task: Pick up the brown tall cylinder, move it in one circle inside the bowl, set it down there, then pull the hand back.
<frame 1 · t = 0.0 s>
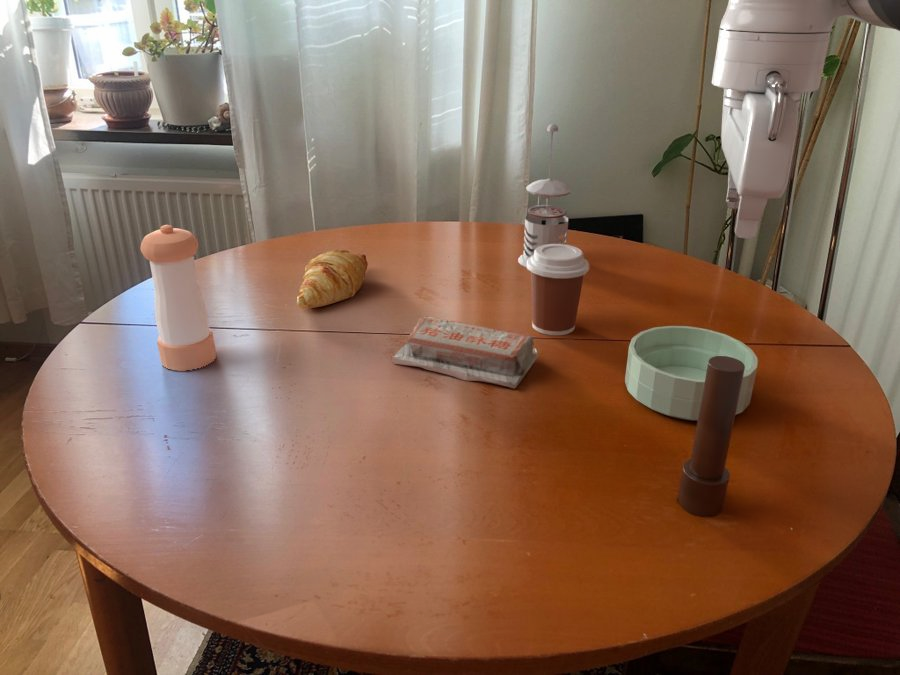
hand: (739, 220, 70), 27 cm above the table, tool pointing down, fingers open, 8 cm apart
packaged product: (465, 363, 102), on the table
bowl: (685, 393, 95), on the table
coffee cup: (553, 327, 113), on the table
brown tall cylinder: (700, 502, 75), on the table
french press: (543, 260, 139), on the table
croissant: (333, 291, 125), on the table
pepper shaker: (189, 360, 103), on the table
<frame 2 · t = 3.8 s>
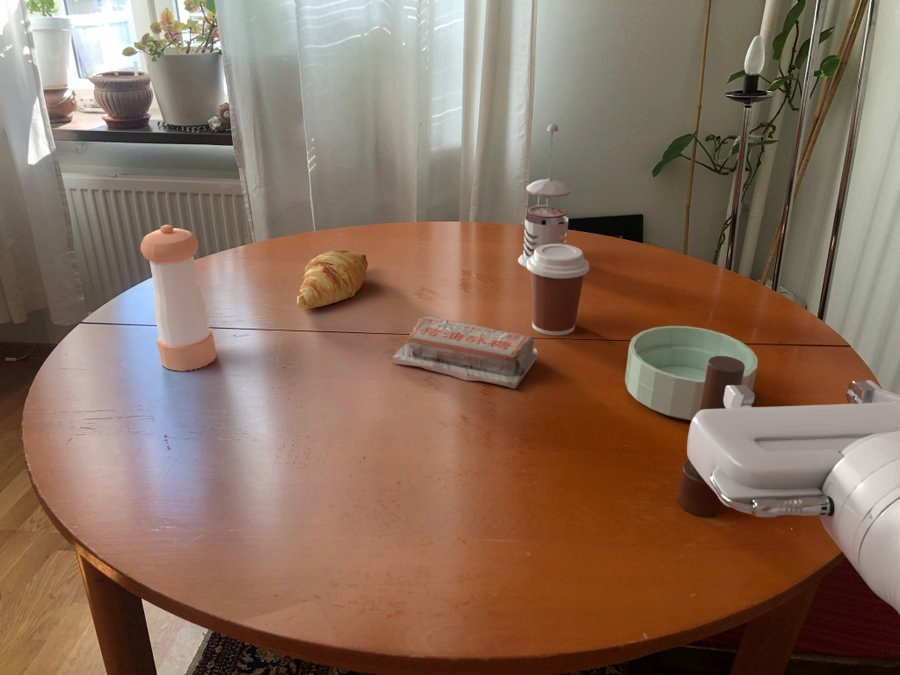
hand: (795, 390, 56), 20 cm above the table, tool horizontal, fingers open, 8 cm apart
nothing on the table moved.
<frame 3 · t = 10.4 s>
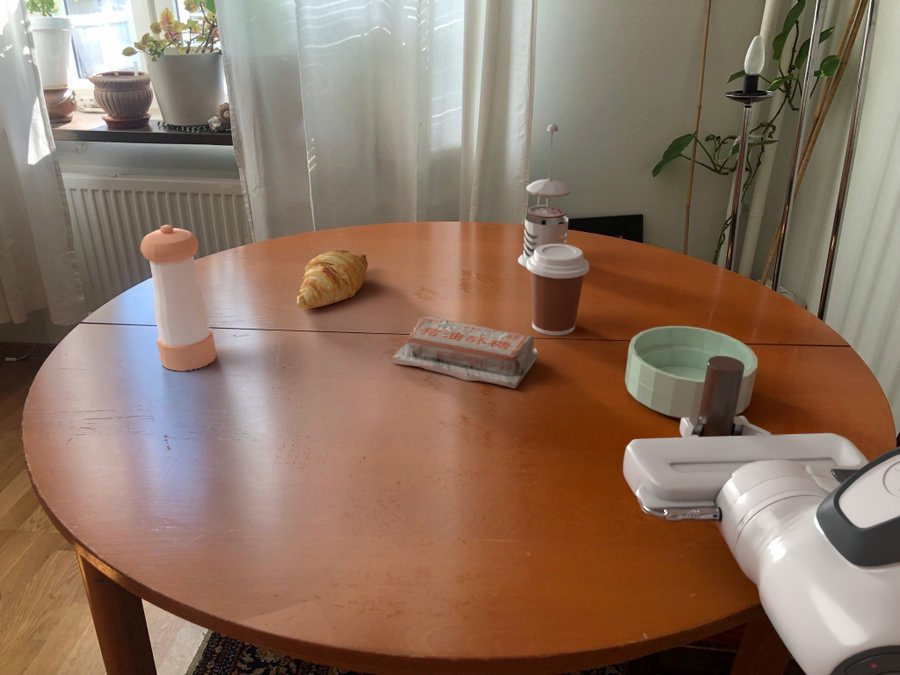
hand: (711, 422, 72), 9 cm above the table, tool horizontal, fingers closed on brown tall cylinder, 3 cm apart
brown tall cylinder: (700, 502, 75), on the table, touching gripper
everything else where it was.
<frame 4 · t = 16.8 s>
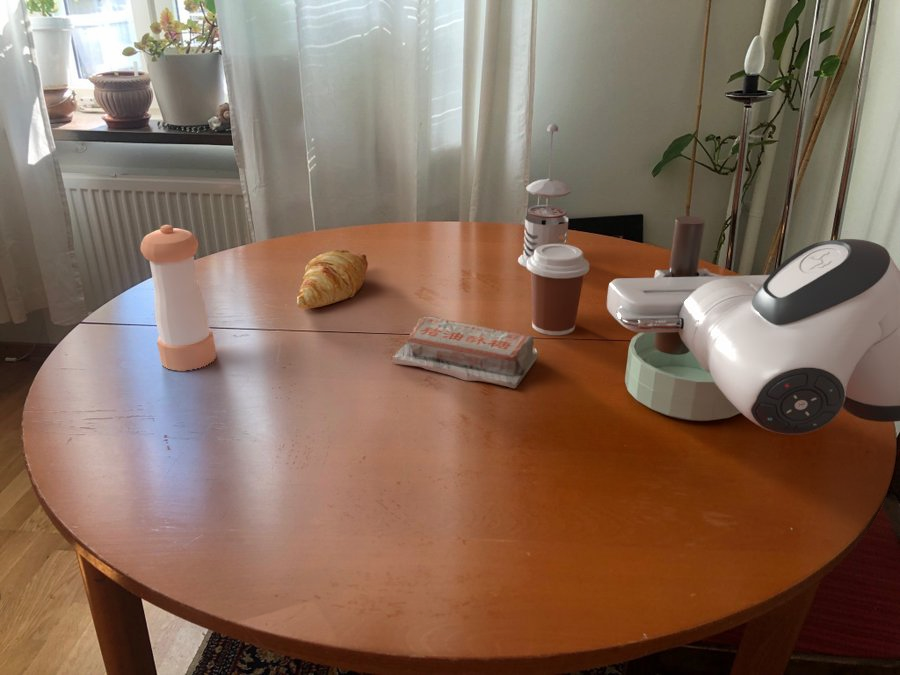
hand: (679, 275, 88), 16 cm above the table, tool horizontal, fingers closed on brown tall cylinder, 3 cm apart
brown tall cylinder: (672, 346, 91), point 7 cm above the table, touching gripper
everything else where it was.
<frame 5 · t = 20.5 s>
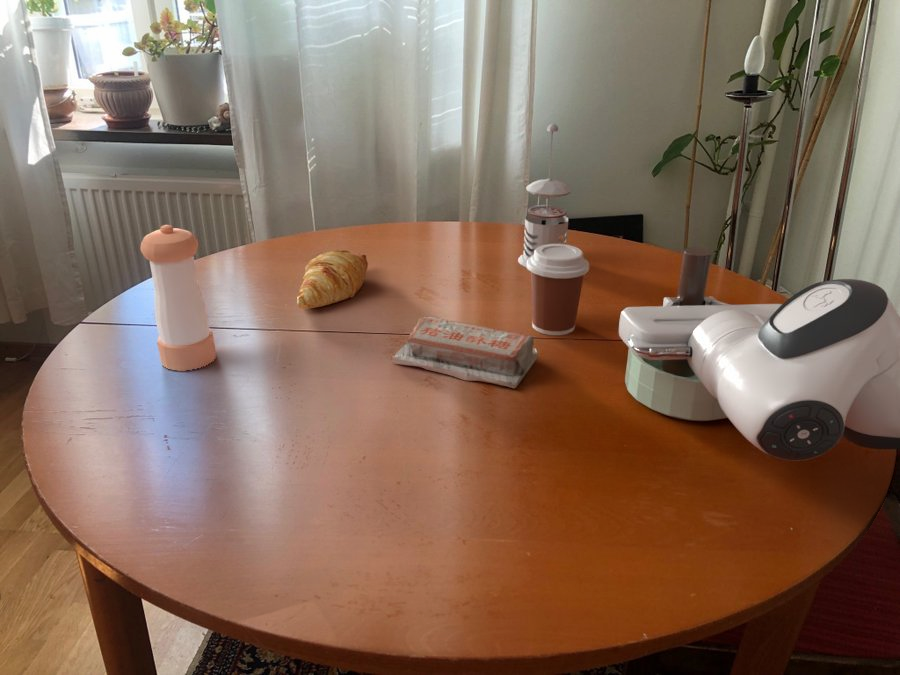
hand: (686, 302, 92), 11 cm above the table, tool horizontal, fingers closed on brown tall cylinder, 3 cm apart
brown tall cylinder: (679, 369, 95), point 2 cm above the table, touching gripper
everything else where it was.
when the fingers open (10 cm above the table, at t = 23.3 s): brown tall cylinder stays where it is, resting on bowl.
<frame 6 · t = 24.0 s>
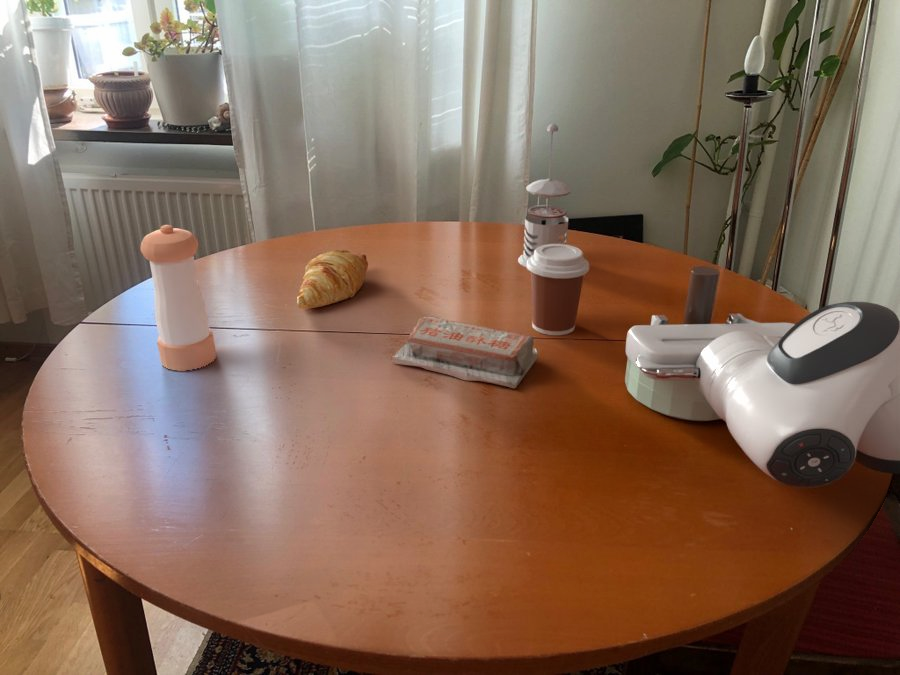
hand: (694, 319, 91), 10 cm above the table, tool horizontal, fingers open, 8 cm apart
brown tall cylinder: (685, 388, 94), point 1 cm above the table, touching bowl
everything else where it was.
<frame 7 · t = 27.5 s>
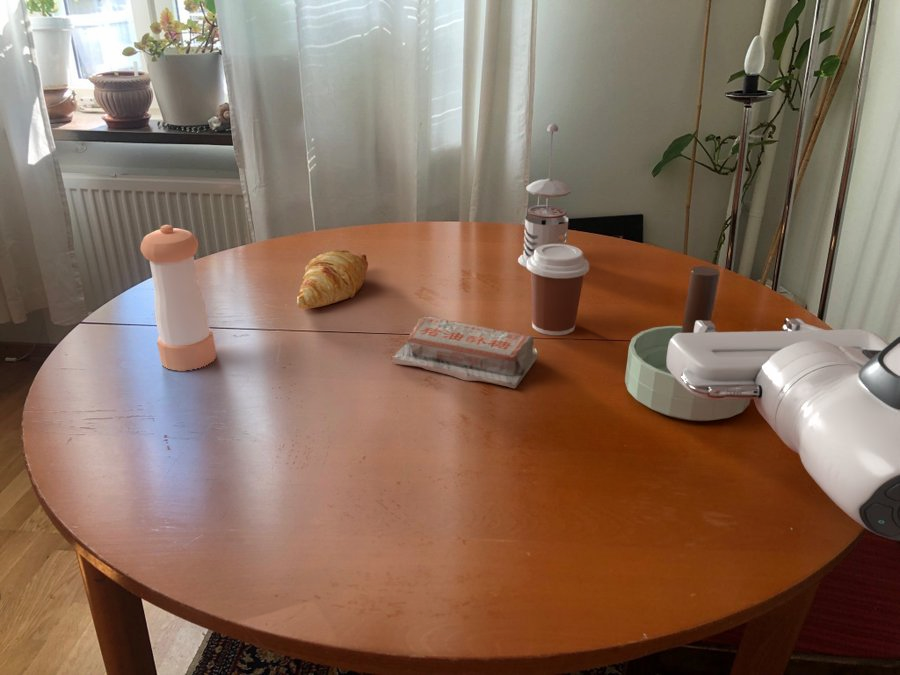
hand: (745, 325, 77), 15 cm above the table, tool horizontal, fingers open, 8 cm apart
nothing on the table moved.
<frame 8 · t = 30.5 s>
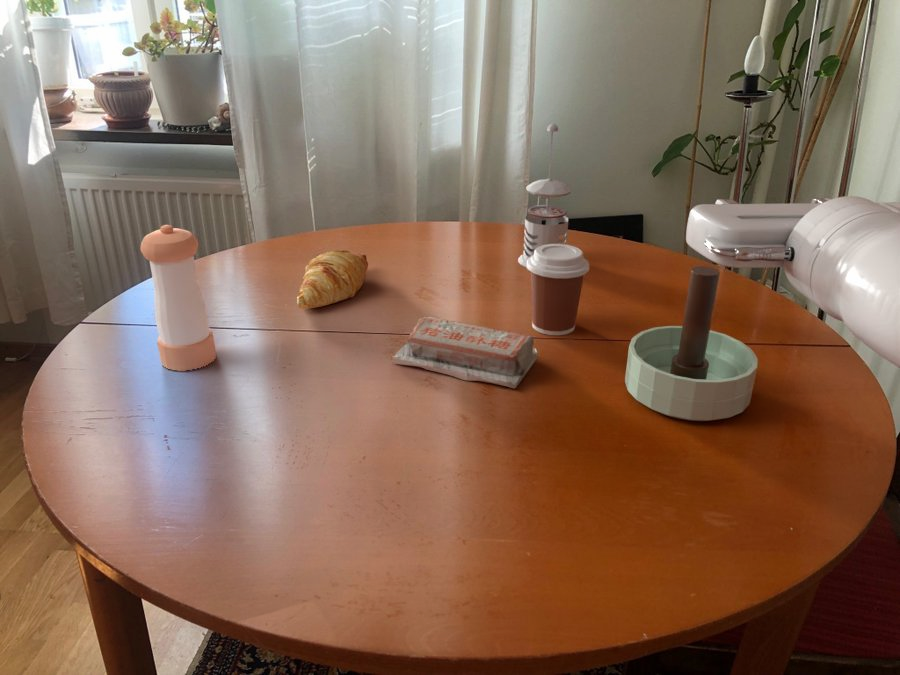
hand: (769, 206, 71), 28 cm above the table, tool horizontal, fingers open, 8 cm apart
nothing on the table moved.
at the end: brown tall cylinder inside the target area in the bowl (0.1 cm from its centre), point 0.8 cm above the bowl's base; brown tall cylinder tilted 0°; the gripper is holding nothing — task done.
